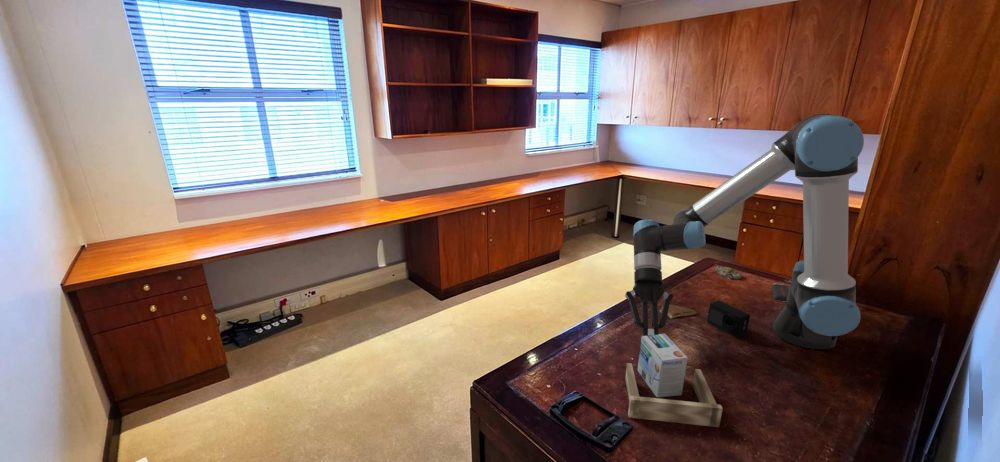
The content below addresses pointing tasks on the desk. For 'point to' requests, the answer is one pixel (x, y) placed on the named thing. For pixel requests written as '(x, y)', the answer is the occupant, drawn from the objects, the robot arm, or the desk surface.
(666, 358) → the light bulb box
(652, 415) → the rack bay
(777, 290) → the usb drive
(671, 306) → the shard
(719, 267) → the mineral rock
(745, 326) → the digital camera
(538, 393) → the desk surface
